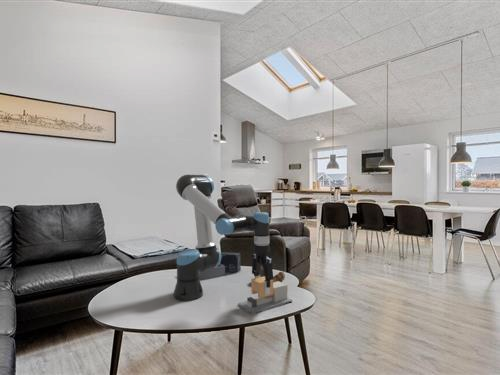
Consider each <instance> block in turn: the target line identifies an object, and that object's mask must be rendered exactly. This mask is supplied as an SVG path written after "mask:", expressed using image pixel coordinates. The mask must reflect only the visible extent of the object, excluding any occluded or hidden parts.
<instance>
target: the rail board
mask: <svg viewBox="0 0 500 375" xmlns="http://www.w3.org/2000/svg"><path fill="white" fill-rule="evenodd" d="M246 299H247V300H245V301H241V302H238V304H237V305H238V306H239V307H240V308H242V309H243V310H245V311H247V312H248V313H249V314H251V315H253V314H257V313H261V312H264V311H266V310H269V309H274V308H276V307H277V308H278V307H280V305H281V306H283V304H284V305H287V304H290V303H289V302H291V303H293V299H291V298H289V297H288V284H286V283H284V282H282V283H281V282H279V281H277V282H273V295H269V296H265V297H262V298H259V297H256V298H254V297H251V296H249V297H247V298H246ZM286 303H287V304H286Z"/></svg>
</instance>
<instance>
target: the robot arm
mask: <svg viewBox="0 0 500 375" xmlns="http://www.w3.org/2000/svg"><path fill="white" fill-rule="evenodd" d="M175 188H176V189H175V190H176V192H177V195H179V196H180V197H181V198H182V199H183V200H185V201H188V202H190V204H192V205H193V208H194V209H193V210H194V218H195V228H196V239H197V244H196V246H195V248H191V249H190V248H189V249H185V250H181V251H180V252H179V253H178V254H177V255H176V284H175V288H174V291H173V299H175V300H178V301H182V302H183V301H187V302H189V301H194V300H197V299H199V298H202V297H203V296H204V290H203V286H202V284H201V280H199V273H200V272H203V271H206V270H211V269H213V268H215V267H217V266H218V265H219V264H220V262H221V253H222V252H221V251H220V248H218V247H217V244H216V243H215V242H214V239H213V230H212V229H213V228H212V223H213V224H214V225H215V230H216V232H217V233H218V234H219V235H221V236H223V235H226V236H228V235H231V234H235V233H241V232H253V244H254V246H253V252H254V253H253V254H251V257H252V261H251V262H252V263H251V264H252V265H251V274H252V275H254V279H255V278H259V277H260V276H258V275H260V269H261V266H262V267H263V271H264V275H265V280H264V290H265V295H266V294H270V280H273V277H274V270H273V258H269V257H270V256H269V254H270V248H271V247H270V215H269V213H268V212H266V211H264V212H263V211H262V212H261V211H257V212H254V213H253V215H243V214H241V215H235V216H230V215H229V214H228V213H226V212H225V211H224V210H223V209H221V208H220V207H219V206H218V205H217V204H215V203H214V201H212V200H211V198H212V194H213V192H214V190H215V184H214V181H213V179H212V178H211V177H210V176H208V175H205V174H184V175H182V176H180V177H179V178H177V181H176V185H175ZM267 277H268V278H267Z"/></svg>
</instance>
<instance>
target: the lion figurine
mask: <svg viewBox="0 0 500 375" xmlns="http://www.w3.org/2000/svg"><path fill="white" fill-rule="evenodd" d="M267 278H268V277H267ZM285 278H286V275H285V272H284V271H278V273H276V274H274V275H273V282H277V281H279V282H281V283H283V281H284V280H285Z"/></svg>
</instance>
